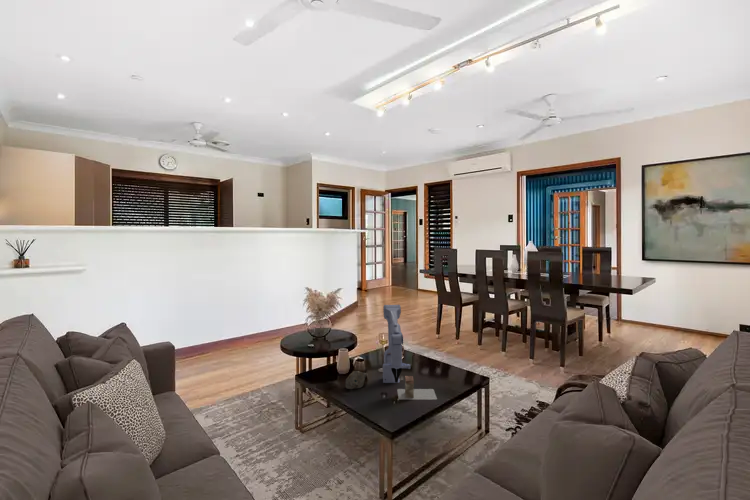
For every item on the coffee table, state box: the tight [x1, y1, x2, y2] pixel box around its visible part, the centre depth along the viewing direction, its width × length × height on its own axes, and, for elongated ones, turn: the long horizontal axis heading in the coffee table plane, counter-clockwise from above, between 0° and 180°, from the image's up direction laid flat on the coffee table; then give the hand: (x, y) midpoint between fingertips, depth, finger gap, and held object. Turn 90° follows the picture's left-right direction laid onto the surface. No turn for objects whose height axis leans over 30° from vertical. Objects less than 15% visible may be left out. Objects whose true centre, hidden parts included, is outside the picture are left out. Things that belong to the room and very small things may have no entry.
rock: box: [345, 370, 367, 390], centre depth 202 cm, size 12×7×10 cm, turn 121°
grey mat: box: [396, 388, 438, 401], centre depth 192 cm, size 20×12×1 cm, turn 90°
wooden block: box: [404, 375, 415, 398], centre depth 191 cm, size 4×6×9 cm, turn 0°
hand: (396, 381), depth 191 cm, fingers closed
